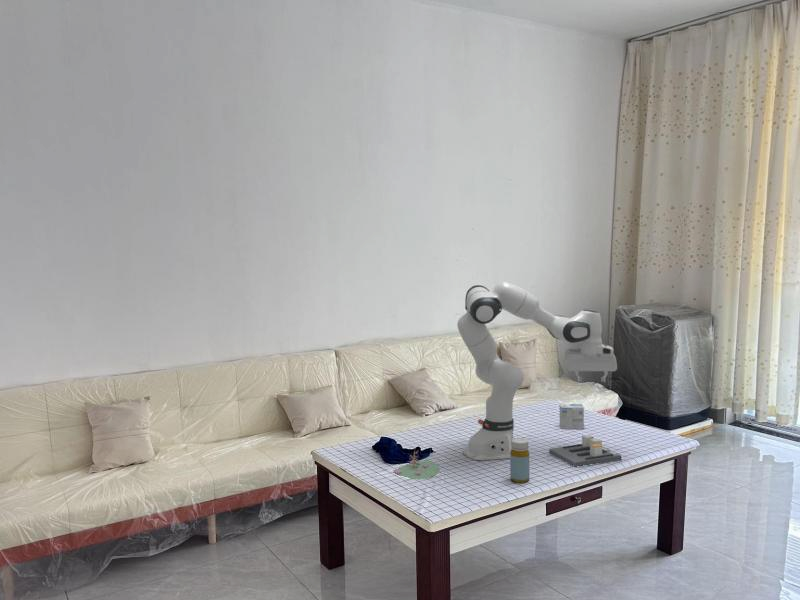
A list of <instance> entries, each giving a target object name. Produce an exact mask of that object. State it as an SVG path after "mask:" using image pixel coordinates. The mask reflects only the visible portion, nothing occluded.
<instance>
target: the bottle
mask: <svg viewBox="0 0 800 600" xmlns="http://www.w3.org/2000/svg"><path fill="white" fill-rule="evenodd" d="M511 446H512V447H511V448H512V449H511V452H510V458H509V459H510V460H509V461H510V463H509V464H510V467H509V468H510V469H509V472H510V473H509V475H510V480H511V481H512V480H513V482H514V481H515V483H518V482H524V483H526V481H527V482H528V481H529V480H530V450H529V440H528V439H527V438H523V437H517V438H514V439H512V440H511Z"/></svg>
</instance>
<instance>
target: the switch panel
mask: <svg viewBox="0 0 800 600" xmlns="http://www.w3.org/2000/svg"><path fill="white" fill-rule="evenodd" d="M597 443H598V444H600V445H602V456H595V457H593V456H591V455H590V444H597ZM548 450H549V451H548V454H549V453H550V455H551V456H553V457H555V458H557V459H558V458H559V459H558V460H560V459H561V460H560V461H562V460H563V461H562V462H564V461H565V462H567V463H568V464H567V463H566V464H567V465H569V464H570V465H569V466H571V465H572V466H571V467H573V466H574V467H575V468H578V467H577V466H582V467H584V466H583V465H588V466H591V465H590V464H594V465H597V464H596V463H601V464H605V463H604V462H607V463H612V462H611V461H613V462H619V461H622V455H621V454H619V453H617V452H615V451H613V450H611V449H609V448H607V447H604V446H603V440H602V439H600V438H598V437H597V438H594V436H593V435H591V434H586V435H585V434H584V435H581V443H580V444H572V445H571V444H570V445H565V446H558V447H551V448H549V449H548ZM618 460H619V461H618ZM565 462H564V463H565ZM574 467H573V468H574Z"/></svg>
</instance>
